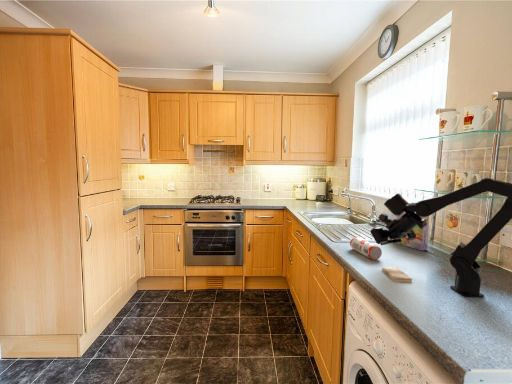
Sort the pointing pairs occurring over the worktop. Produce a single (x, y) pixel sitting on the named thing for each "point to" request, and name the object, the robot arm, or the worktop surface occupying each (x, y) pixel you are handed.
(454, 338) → the worktop surface
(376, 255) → the beer can
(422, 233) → the cake pan box
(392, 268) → the chopping board
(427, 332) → the worktop surface
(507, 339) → the worktop surface
